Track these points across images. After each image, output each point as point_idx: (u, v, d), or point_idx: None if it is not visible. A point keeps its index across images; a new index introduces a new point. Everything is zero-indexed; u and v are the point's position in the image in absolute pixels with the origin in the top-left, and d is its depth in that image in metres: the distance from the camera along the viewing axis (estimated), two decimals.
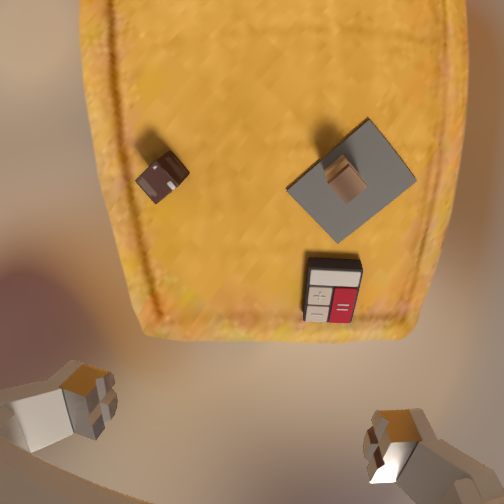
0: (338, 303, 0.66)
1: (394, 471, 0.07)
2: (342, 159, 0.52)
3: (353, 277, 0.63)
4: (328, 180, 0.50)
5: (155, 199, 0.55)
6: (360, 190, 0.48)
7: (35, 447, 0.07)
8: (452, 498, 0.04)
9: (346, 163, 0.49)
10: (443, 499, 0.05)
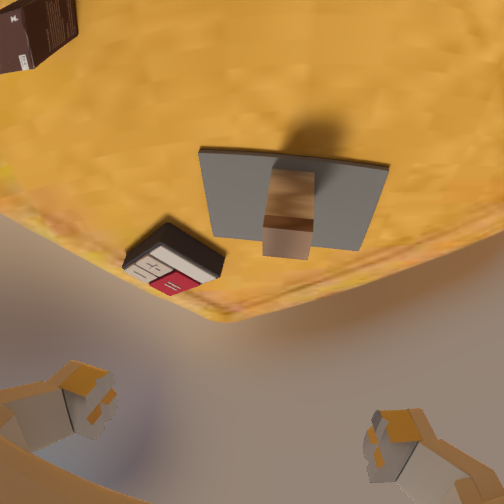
0: (170, 281, 0.52)
1: (394, 471, 0.07)
2: (308, 186, 0.32)
3: (204, 276, 0.49)
4: (267, 215, 0.30)
5: None
6: (295, 257, 0.32)
7: (35, 447, 0.07)
8: (452, 498, 0.04)
9: (310, 214, 0.30)
10: (443, 499, 0.05)
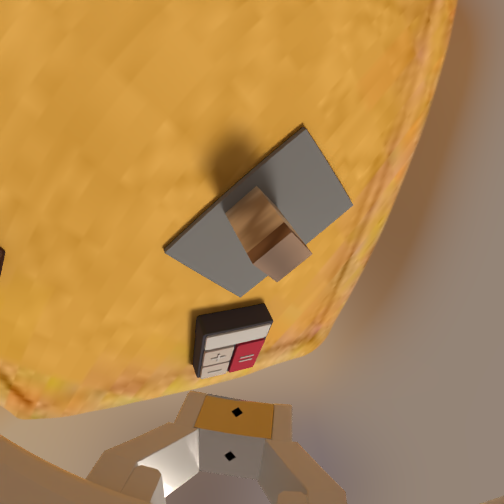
0: (241, 356, 0.52)
1: (255, 467, 0.07)
2: (260, 200, 0.33)
3: (261, 330, 0.48)
4: (249, 252, 0.30)
5: None
6: (301, 260, 0.32)
7: None
8: None
9: (278, 219, 0.30)
10: None
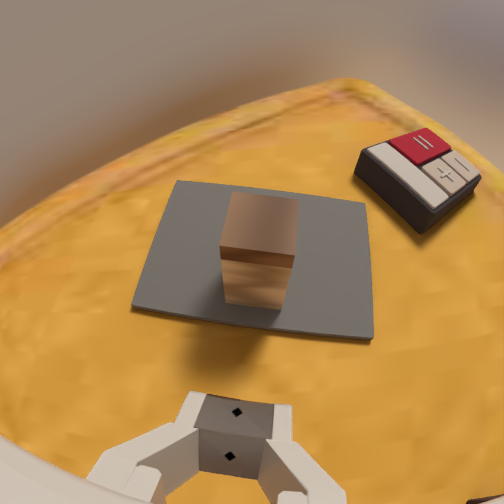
0: (426, 149, 0.34)
1: (255, 468, 0.07)
2: (231, 291, 0.24)
3: (382, 152, 0.33)
4: (287, 266, 0.20)
5: None
6: (250, 196, 0.22)
7: None
8: None
9: (225, 265, 0.21)
10: None
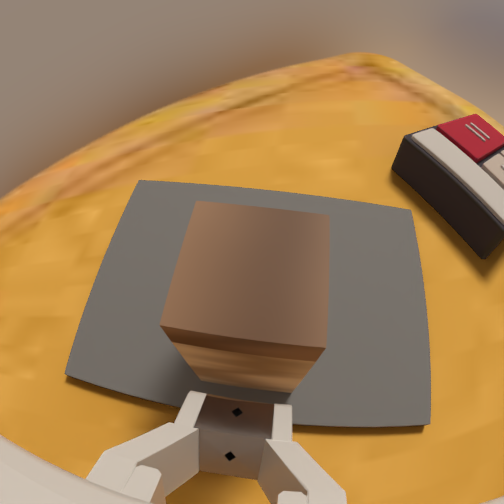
0: (482, 140, 0.23)
1: (255, 467, 0.07)
2: (206, 373, 0.13)
3: (431, 141, 0.21)
4: (307, 359, 0.09)
5: None
6: (230, 211, 0.11)
7: None
8: None
9: (183, 348, 0.10)
10: None
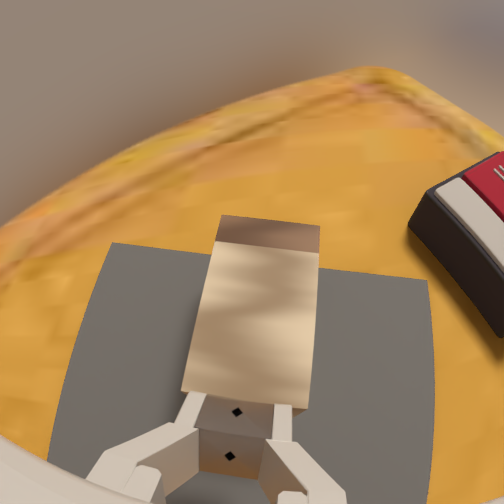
0: None
1: (255, 467, 0.07)
2: (207, 337, 0.12)
3: (457, 198, 0.18)
4: (312, 250, 0.14)
5: None
6: None
7: None
8: None
9: (218, 253, 0.14)
10: None
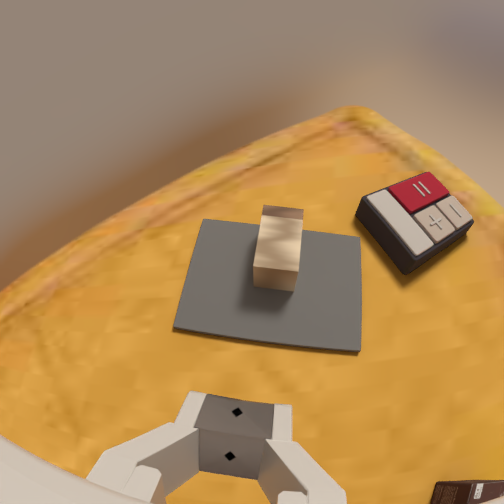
0: (422, 196, 0.40)
1: (255, 468, 0.07)
2: (261, 248, 0.33)
3: (379, 200, 0.39)
4: (300, 218, 0.35)
5: None
6: None
7: None
8: None
9: (263, 219, 0.35)
10: None
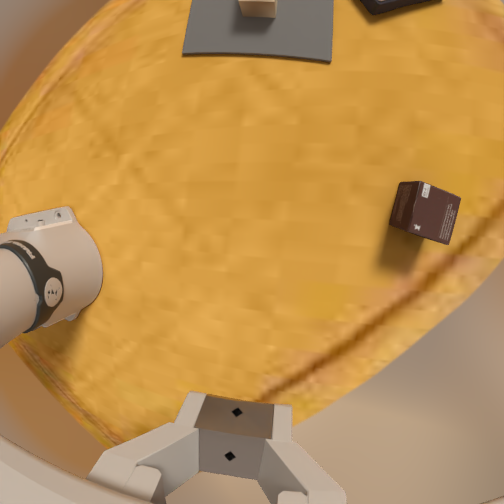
0: None
1: (255, 467, 0.07)
2: None
3: None
4: None
5: (455, 201, 0.32)
6: None
7: None
8: None
9: None
10: None
